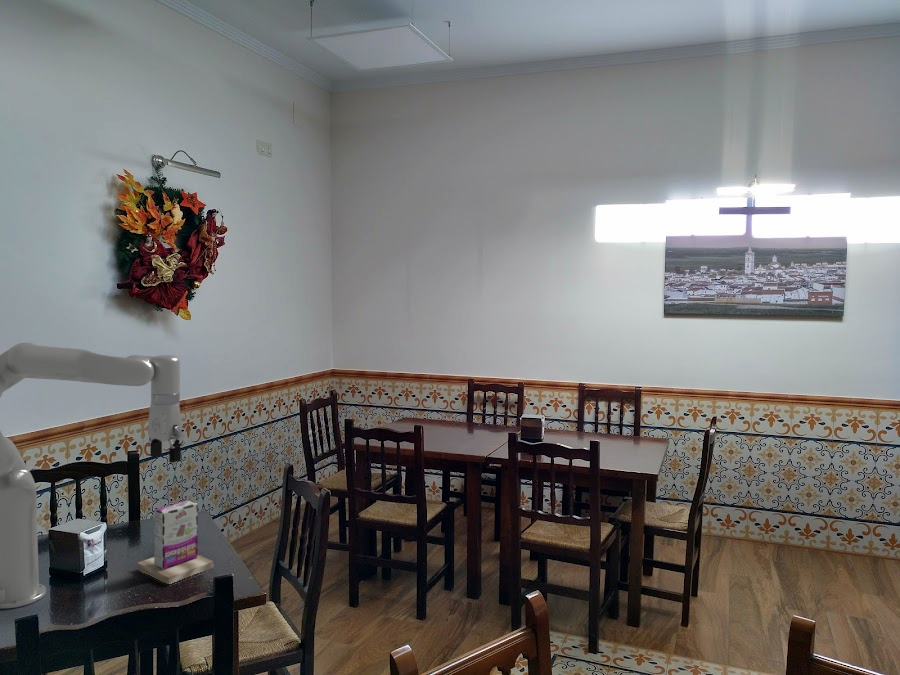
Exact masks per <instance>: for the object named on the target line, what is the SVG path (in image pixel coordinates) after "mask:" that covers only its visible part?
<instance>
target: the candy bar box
mask: <svg viewBox="0 0 900 675" xmlns="http://www.w3.org/2000/svg"><path fill="white" fill-rule="evenodd" d="M198 506H199V505H198V502H197V503H196V502H194V501H192V500H186V501H185V500H184V501H180V502H177V503H174V504H170V505H166V506H164V507H159V508H156V509H154V512H153V515H154V516H153V518H154V522H153V524H154V526H153V529H154V532H153V534H154V538H153V540H154V541H153V543H154V544H153V545H154V550H153V552H154V556H153V557H154V565H156V566H157V567H160V568H162V569H166V568H169V567H172V566H175V565H178V564H181V563H183V562H186V561H189V560H192V559H195V558H197V554H198V545H199V544H198V543H199V540H198V534H199V532H198V526H199V525H198V523H199V519H198V515H199V514H198V511H199V509H198V508H199V507H198Z"/></svg>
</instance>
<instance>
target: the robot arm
mask: <svg viewBox="0 0 900 675" xmlns="http://www.w3.org/2000/svg"><path fill="white" fill-rule="evenodd" d="M180 364H181V363H180V358H179V357H178V356H175V355H168V354H167V355H163V354H162V355H156V356H152V355H151V356H150V355H149V356H147V355H141V354H140V355H139V354H135V355H134V354H133V355H129V356H126V357H124V356H122V357H121V356H113V355H112V356H111V355H106V354H100V353H96V352H92V351H89V350H86V349H80V348H69V347H67V348H66V347H55V346H47V345H46V346H45V345H37V344H35V343H32V342H20V343H17V344H15V345H13V346H12V347H10V348H9V349H8V350H6V351H4V352H3V353H1V354H0V398H1V396H3V393H4V392H6V391H7V390H9V389H11V388H12V387H13V386H15V385H17V384H18V383H20V382H21V381H22V380H24V379H37V380H38V379H41V380H57V381H59V380H60V381H67V382H68V381H70V382H81V383H90V384H91V383H93V384H101V385H111V386H112V385H113V386H126V387H127V386H128V387H129V386H130V387H141V386H145V385H147V384H148V383H150V405H149V410H148V411H149V412H148V423H147V434H148V436H149V440H148V441H149V443H150V444H149V445H150V456H151V457H152V458H153V457H157V456H158V457H159V456H162V454H163V442H168V444H169V446H170V448H169V450H168V452H169V453H168V454H169V456H168V457H169V460H168V462H169V463H176V462H180V461H181V460H182V447H183V443H184V438H185V435H186V434H185V433H184V432H183V431H182V421H181V420H182V416H181V409H180V403H181V402H180V401H181V400H180V398H181V393H180V392H181V389H180V388H181V386H180V385H181V384H180V382H181V381H180V380H181V378H180V377H181V371H180V370H181V365H180ZM36 487H37V486H36V482H35V479H34V477H33V475H32V473H31V471H30V470H29V468H28V467H27V464H26V463H25V461H24V459H23V457H22V455H21V453H20V451H19V450H18V448H17V446H16V445H15V443H14V442H13V440H11V439H10V438H9V437H6V436H4V435H3V433H2V431H1V430H0V610H2V609H5V610H6V609H13V608H21V607H24V606H27V605H30V604H33V603H35V602H37V601H39V600H40V599H41V598H43V597H44V596H45V595H46V593H47V588H46V586H45V585H44V584H42V583H40V582H39V581H40V580H39V577H40V576H39V574H40V572H39V548H38V547H39V545H38V544H39V543H38V541H39V540H38V516H37V515H38V509H37V508H38V497H37V488H36Z"/></svg>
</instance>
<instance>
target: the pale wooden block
mask: <svg viewBox="0 0 900 675" xmlns="http://www.w3.org/2000/svg"><path fill="white" fill-rule="evenodd" d="M214 562H215V561H213V560H211V559H209V558H206V557H204V556H202V555H199V554H198V553H197V558H195V559H192V560H189V561H186V562H183V563H181V564H178V565H175V566H172V567H169V568H166V569H162V568H160V567H157V566H156V565H154V556H152V557H149V558H147V559H144V560H142V561H138V562H137V571H138V570H139V571H138V572H140V571H141V572H140V573H142V572H143V573H142V574H144V573H145V575H146V574H148V575H150V576H152V577H154V578H156V579H158V580H160V581H162V582H165V583H167V584H172V583H174V582H177V581H179V580H182V579H184V578H187V577H189V576H192V575H194V574H197V573H200V572H203V571H205V570H208V569H211V568H215V567H214V566H215V564H214ZM148 575H147V576H148ZM150 576H149V577H150ZM152 577H151V578H152ZM154 578H153V579H154ZM156 579H155V580H156ZM158 580H157V581H158ZM160 581H159V582H160ZM162 582H161V583H162Z"/></svg>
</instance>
